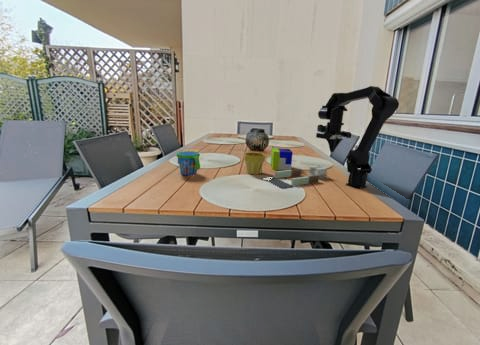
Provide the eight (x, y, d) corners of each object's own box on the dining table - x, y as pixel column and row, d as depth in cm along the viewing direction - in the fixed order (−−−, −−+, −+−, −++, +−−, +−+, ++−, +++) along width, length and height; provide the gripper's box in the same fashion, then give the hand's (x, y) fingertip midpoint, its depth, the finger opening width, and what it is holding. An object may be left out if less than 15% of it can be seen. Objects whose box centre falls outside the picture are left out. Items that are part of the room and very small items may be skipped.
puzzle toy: (290, 170, 134) (292, 152, 131) (272, 169, 134) (273, 151, 131) (287, 166, 143) (289, 149, 141) (270, 165, 143) (271, 148, 141)
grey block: (325, 178, 122) (327, 168, 120) (317, 179, 119) (318, 169, 117) (317, 175, 127) (318, 165, 125) (308, 176, 124) (309, 166, 123)
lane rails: (318, 181, 114) (319, 175, 113) (293, 185, 107) (293, 179, 106) (298, 174, 125) (299, 168, 125) (274, 177, 118) (275, 171, 118)
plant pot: (262, 176, 120) (263, 156, 117) (241, 174, 122) (242, 155, 119) (264, 171, 130) (266, 152, 127) (245, 169, 132) (246, 151, 129)
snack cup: (171, 171, 122) (170, 151, 120) (190, 168, 129) (190, 149, 126) (186, 179, 111) (185, 157, 108) (206, 175, 117) (206, 154, 114)
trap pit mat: (293, 187, 106) (293, 186, 106) (282, 188, 103) (282, 187, 103) (271, 177, 119) (271, 176, 119) (261, 178, 116) (261, 177, 116)
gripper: (336, 119, 130) (332, 148, 134) (309, 119, 122) (306, 150, 126) (354, 121, 121) (349, 152, 125) (327, 120, 112) (322, 154, 116)
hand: (331, 152), depth 123 cm, fingers closed
